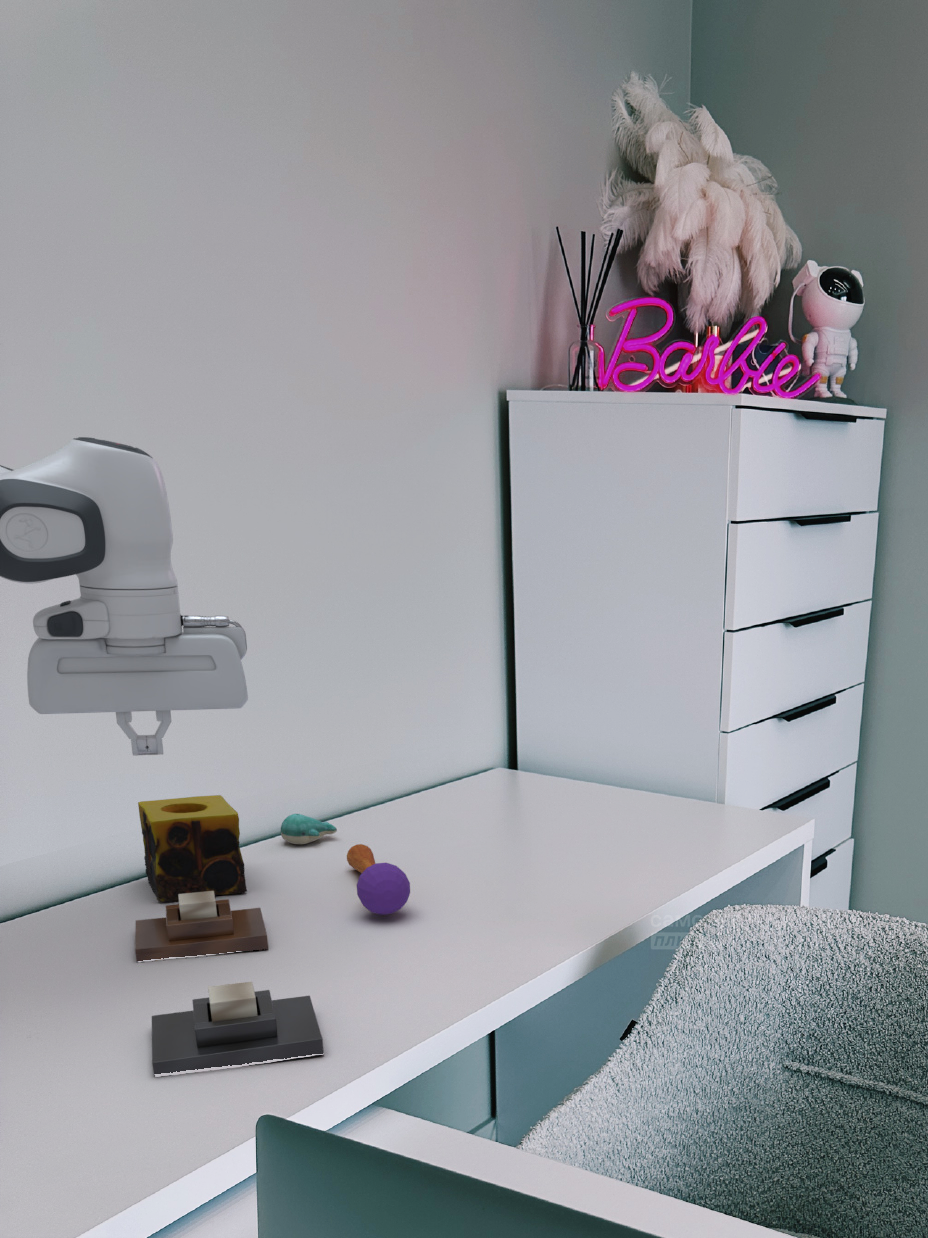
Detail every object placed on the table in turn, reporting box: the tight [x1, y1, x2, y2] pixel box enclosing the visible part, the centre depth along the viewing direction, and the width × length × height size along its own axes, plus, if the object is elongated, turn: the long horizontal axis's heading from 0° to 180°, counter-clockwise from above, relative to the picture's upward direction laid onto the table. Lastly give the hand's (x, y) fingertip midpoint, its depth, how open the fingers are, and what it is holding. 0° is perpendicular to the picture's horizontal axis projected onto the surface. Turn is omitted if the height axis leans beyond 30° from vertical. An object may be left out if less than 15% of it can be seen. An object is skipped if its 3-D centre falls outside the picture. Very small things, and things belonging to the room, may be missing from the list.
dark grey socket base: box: [151, 989, 325, 1075], centre depth 113 cm, size 14×10×4 cm
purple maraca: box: [346, 843, 411, 916], centre depth 151 cm, size 6×6×20 cm
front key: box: [207, 981, 258, 1022], centre depth 112 cm, size 4×4×2 cm
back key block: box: [134, 898, 269, 962], centre depth 135 cm, size 13×9×4 cm
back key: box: [178, 891, 217, 920], centre depth 134 cm, size 4×4×2 cm
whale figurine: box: [280, 813, 338, 845], centre depth 171 cm, size 6×7×4 cm
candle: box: [137, 794, 248, 903], centre depth 150 cm, size 10×10×10 cm
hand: (148, 754), depth 128 cm, fingers closed
